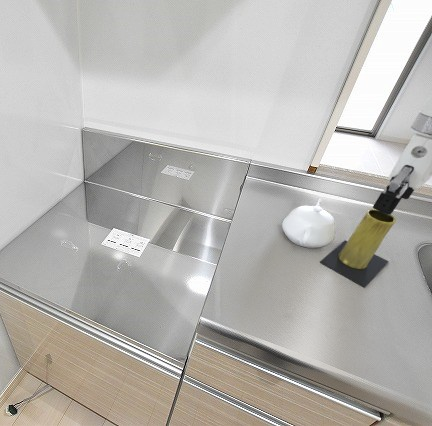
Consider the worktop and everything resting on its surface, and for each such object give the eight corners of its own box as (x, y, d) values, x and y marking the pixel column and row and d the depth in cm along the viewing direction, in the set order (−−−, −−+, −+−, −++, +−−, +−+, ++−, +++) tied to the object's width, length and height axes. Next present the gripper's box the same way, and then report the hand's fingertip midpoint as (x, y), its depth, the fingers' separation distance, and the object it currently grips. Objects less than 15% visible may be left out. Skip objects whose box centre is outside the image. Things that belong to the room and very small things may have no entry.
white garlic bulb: (288, 211, 92) (300, 184, 86) (334, 226, 86) (350, 197, 80) (271, 246, 79) (283, 217, 73) (323, 266, 73) (341, 236, 67)
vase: (341, 266, 73) (370, 221, 64) (334, 250, 77) (360, 206, 69) (370, 271, 71) (404, 226, 63) (361, 254, 76) (391, 210, 67)
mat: (388, 262, 74) (389, 261, 74) (364, 287, 68) (365, 287, 67) (344, 240, 81) (345, 240, 80) (319, 262, 74) (319, 261, 74)
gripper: (454, 143, 47) (396, 226, 57) (481, 121, 55) (425, 198, 65) (397, 130, 52) (353, 208, 62) (429, 112, 60) (385, 184, 70)
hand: (390, 203), depth 64 cm, fingers open, 9 cm apart
